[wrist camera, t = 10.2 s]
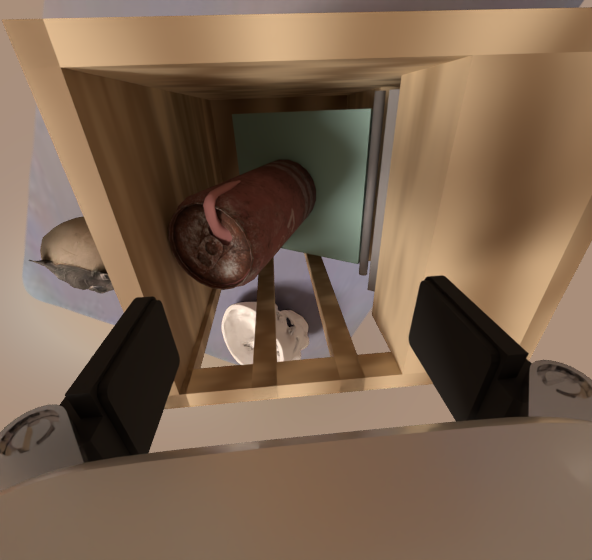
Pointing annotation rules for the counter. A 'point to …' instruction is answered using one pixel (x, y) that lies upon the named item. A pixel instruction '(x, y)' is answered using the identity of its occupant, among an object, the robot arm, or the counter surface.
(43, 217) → the counter surface
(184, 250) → the can
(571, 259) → the zigzag grain wooden box
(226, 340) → the skull bowl
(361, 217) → the green chalkboard
